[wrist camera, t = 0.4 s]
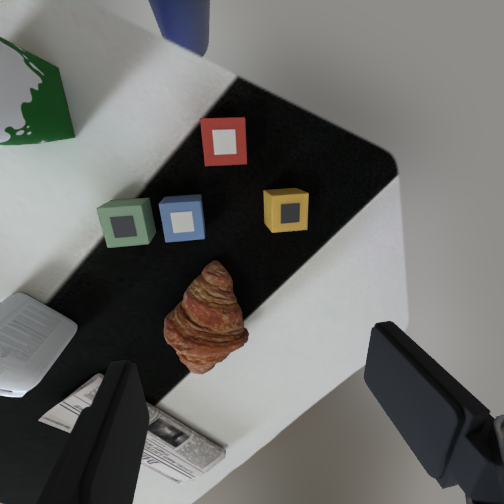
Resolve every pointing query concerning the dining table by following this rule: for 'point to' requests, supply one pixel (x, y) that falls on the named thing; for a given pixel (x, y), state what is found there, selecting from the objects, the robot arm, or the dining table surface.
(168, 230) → the blue block
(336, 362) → the dining table surface
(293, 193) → the mustard block
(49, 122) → the milk carton
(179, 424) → the newspaper
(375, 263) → the dining table surface
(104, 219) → the sage block
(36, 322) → the photo printer
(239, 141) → the red block
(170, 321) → the pastry
